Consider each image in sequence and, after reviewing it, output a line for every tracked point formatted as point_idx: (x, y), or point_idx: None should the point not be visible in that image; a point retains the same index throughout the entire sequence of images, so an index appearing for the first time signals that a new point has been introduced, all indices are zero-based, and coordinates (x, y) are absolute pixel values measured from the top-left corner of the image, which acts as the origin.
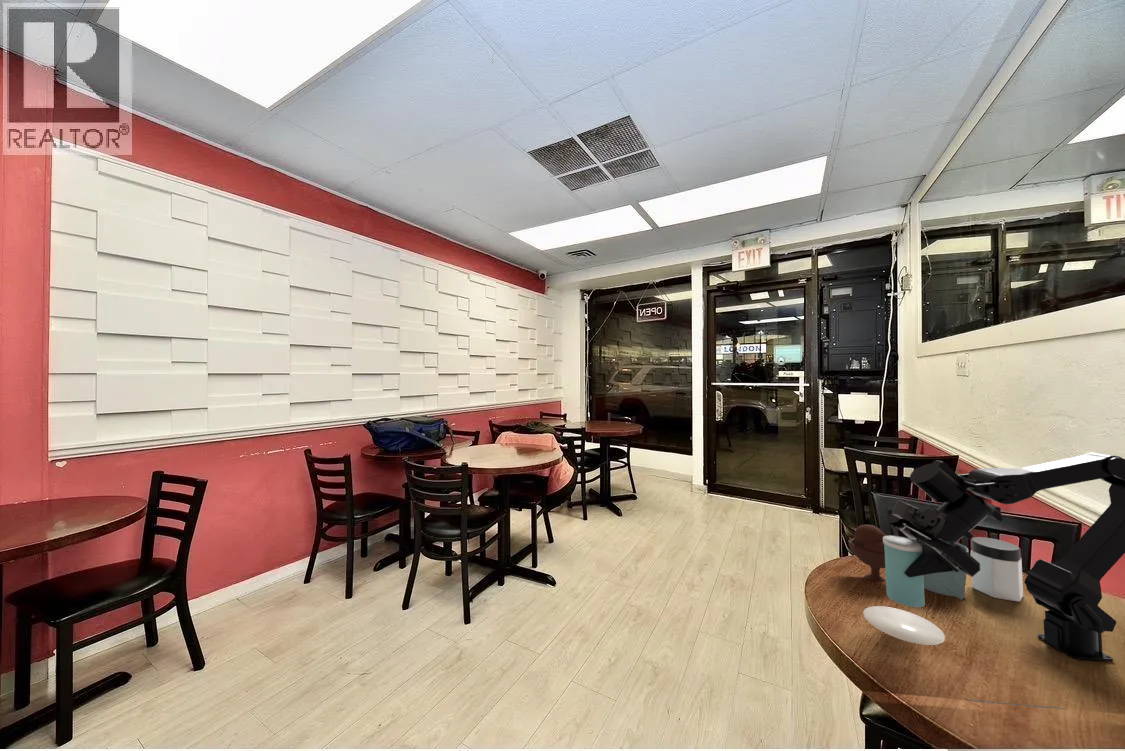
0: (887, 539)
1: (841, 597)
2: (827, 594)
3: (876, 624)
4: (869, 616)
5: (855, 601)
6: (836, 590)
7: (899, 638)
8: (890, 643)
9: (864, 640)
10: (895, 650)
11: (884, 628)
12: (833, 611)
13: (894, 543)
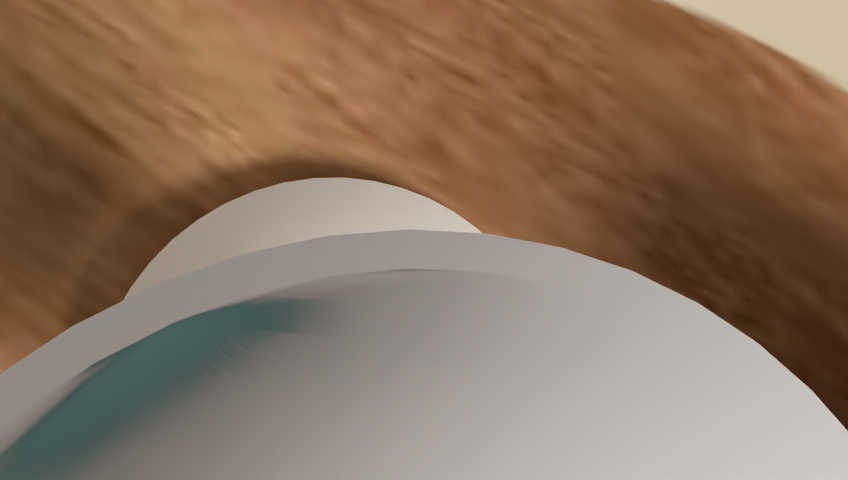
0: (546, 386)
1: (661, 172)
2: (678, 91)
3: (287, 217)
4: (390, 220)
5: (629, 247)
6: (751, 181)
7: (130, 291)
8: (126, 231)
9: (125, 72)
10: (45, 223)
11: (246, 250)
12: (455, 30)
13: (138, 458)
